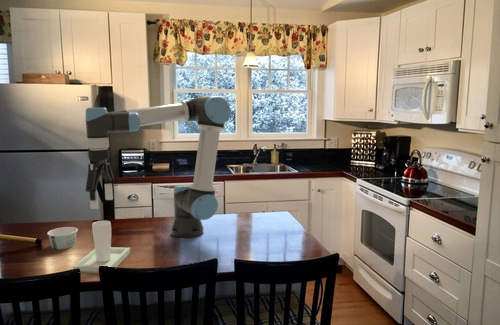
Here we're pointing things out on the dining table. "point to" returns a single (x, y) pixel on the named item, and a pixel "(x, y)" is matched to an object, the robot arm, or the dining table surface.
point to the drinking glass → (102, 240)
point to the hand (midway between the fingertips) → (102, 204)
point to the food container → (63, 237)
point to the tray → (92, 265)
